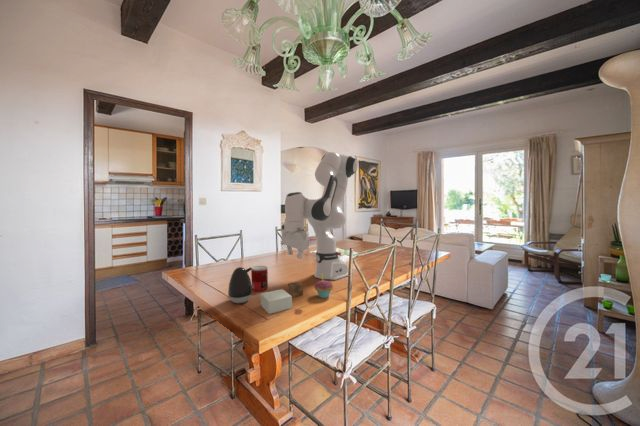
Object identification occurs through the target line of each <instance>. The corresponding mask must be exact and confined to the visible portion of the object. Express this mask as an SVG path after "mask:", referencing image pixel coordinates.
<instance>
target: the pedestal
mask: <svg viewBox="0 0 640 426" xmlns="http://www.w3.org/2000/svg"><path fill="white" fill-rule="evenodd" d="M260 306H261V307H262V308H263V310H265V311H266V313H268V314H269V315H271V314H274V313H278V312H282V311H287V310H290V309H292V308H293V297H292V296H291V295H290V294H289V292H287V291H286V290H284V289H283V288H281V289H275V290H271V291H267V292H262V293H261V292H260Z"/></svg>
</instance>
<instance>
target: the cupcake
mask: <svg viewBox="0 0 640 426" xmlns="http://www.w3.org/2000/svg"><path fill="white" fill-rule="evenodd" d="M321 276H322V279H321V280H318V281H317V282H316V283H314V289H315V291H316V292H317V294H318V297H319V298H320V299H326V298H329V297H330V294H331V292H332V290H333V288H334V287H333V283H332V282H331V281H329V280H328V279H323V273H321Z"/></svg>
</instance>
